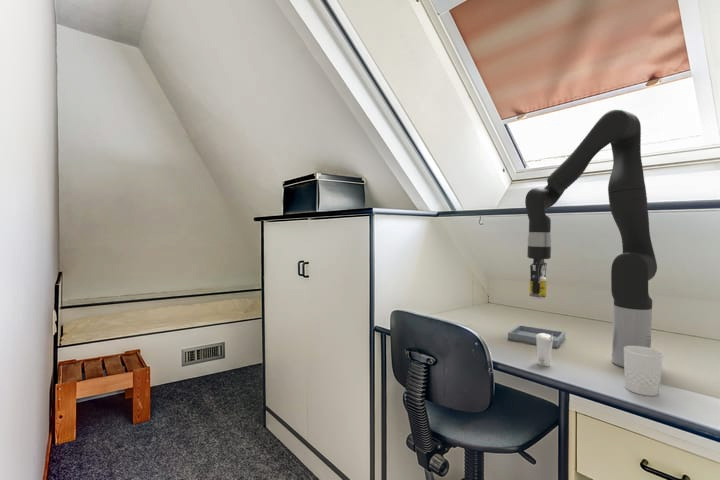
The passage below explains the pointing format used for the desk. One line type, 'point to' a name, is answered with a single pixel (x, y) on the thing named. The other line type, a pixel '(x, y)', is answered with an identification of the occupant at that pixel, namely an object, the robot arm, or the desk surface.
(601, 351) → the desk surface
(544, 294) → the supplement bottle
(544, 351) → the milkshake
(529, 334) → the tray
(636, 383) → the white cup
